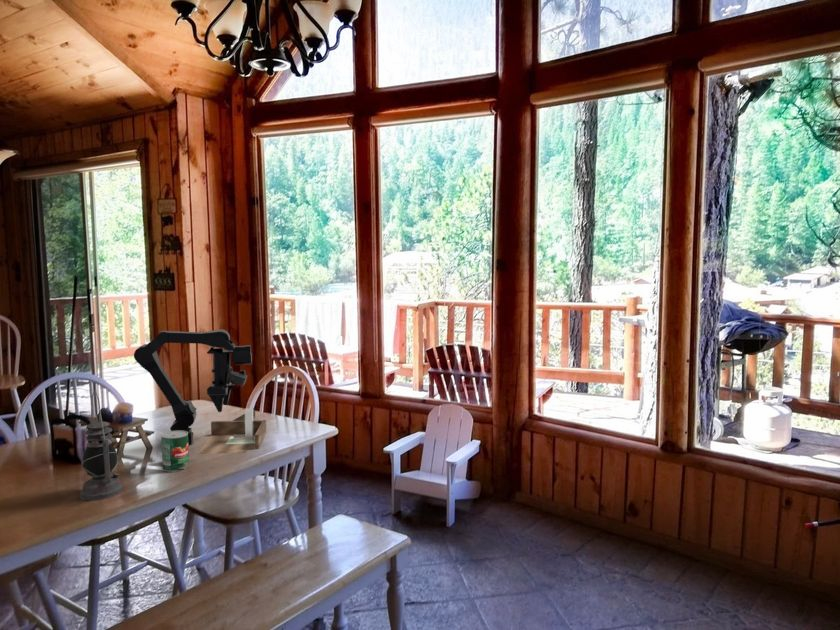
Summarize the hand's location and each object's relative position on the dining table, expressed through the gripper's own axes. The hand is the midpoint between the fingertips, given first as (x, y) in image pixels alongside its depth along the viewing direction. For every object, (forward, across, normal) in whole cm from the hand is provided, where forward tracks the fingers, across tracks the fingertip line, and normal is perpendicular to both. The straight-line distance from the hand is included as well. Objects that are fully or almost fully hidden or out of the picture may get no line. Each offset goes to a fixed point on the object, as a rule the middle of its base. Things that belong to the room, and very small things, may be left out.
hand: (223, 408), depth 203 cm
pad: (+13, 0, -6) cm, 15 cm away
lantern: (+13, -40, +25) cm, 49 cm away
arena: (+13, -2, -4) cm, 14 cm away
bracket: (+12, 0, -7) cm, 14 cm away
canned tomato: (+13, -22, +10) cm, 28 cm away
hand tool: (+14, +24, -2) cm, 28 cm away
